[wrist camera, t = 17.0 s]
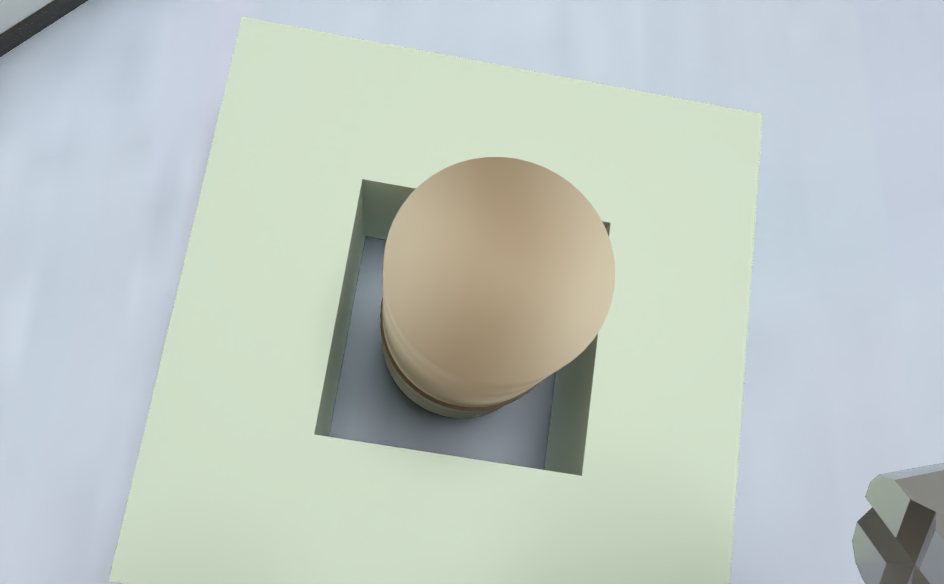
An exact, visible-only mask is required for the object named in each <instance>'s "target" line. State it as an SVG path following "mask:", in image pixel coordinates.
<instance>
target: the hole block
mask: <svg viewBox="0 0 944 584" xmlns="http://www.w3.org/2000/svg"><path fill="white" fill-rule="evenodd" d="M762 119H763V114H760V113H755V112H750V111H744V110H739V109H734V108H728V107H723V106H718V105H712V104H707V103H702V102H696V101H691V100H685V99H680V98H675V97H669V96H664V95H659V94H653V93H648V92H643V91H637V90H632V89H627V88H621V87H616V86H611V85H605V84H600V83H594V82H589V81H584V80H578V79H573V78H568V77H562V76H557V75H552V74H546V73H541V72H536V71H530V70H525V69H520V68H514V67H509V66H503V65H498V64H493V63H487V62H482V61H477V60H471V59H466V58H461V57H455V56H450V55H445V54H439V53H434V52H429V51H423V50H418V49H413V48H407V47H402V46H396V45H391V44H386V43H380V42H375V41H370V40H364V39H359V38H354V37H348V36H343V35H338V34H332V33H327V32H322V31H316V30H311V29H305V28H300V27H295V26H289V25H284V24H279V23H273V22H268V21H263V20H257V19H252V18H247V17H242V19H241V23H240V27H239V31H238V35H237V40H236V44H235V48H234V52H233V57H232V61H231V65H230V69H229V74H228V78H227V82H226V86H225V90H224V95H223V99H222V103H221V107H220V112H219V116H218V120H217V124H216V129H215V133H214V137H213V141H212V146H211V150H210V154H209V158H208V162H207V167H206V171H205V175H204V179H203V184H202V188H201V192H200V196H199V201H198V205H197V209H196V213H195V218H194V222H193V226H192V230H191V234H190V239H189V243H188V247H187V251H186V256H185V260H184V264H183V268H182V273H181V277H180V281H179V285H178V290H177V294H176V298H175V302H174V306H173V311H172V315H171V319H170V323H169V328H168V332H167V336H166V340H165V345H164V349H163V353H162V357H161V362H160V366H159V370H158V374H157V378H156V383H155V387H154V391H153V395H152V400H151V404H150V408H149V412H148V417H147V421H146V425H145V429H144V434H143V438H142V442H141V446H140V450H139V455H138V459H137V463H136V467H135V472H134V476H133V480H132V484H131V489H130V493H129V497H128V501H127V506H126V510H125V514H124V518H123V522H122V527H121V531H120V535H119V539H118V544H117V548H116V552H115V556H114V561H113V565H112V569H111V573H110V578H109V581H110V582H118V583H125V584H730V574H731V560H732V546H733V532H734V517H735V503H736V489H737V475H738V460H739V446H740V432H741V418H742V403H743V389H744V375H745V361H746V346H747V332H748V318H749V304H750V290H751V275H752V261H753V247H754V233H755V218H756V204H757V190H758V176H759V161H760V147H761V133H762ZM483 157H507V158H516V159H520V160H524V161H528V162H532V163H535V164H537V165H540V166H543V167H545V168H547V169H549V170H551V171H553V172H555V173H556V174H558V175H560V176H561V177H563V178H564V179H565V180H567V181H568V182H570V183H571V184H572V185H573V186H574V187H576V188H577V189H578V190H579V191H580V192H581V193H582V194H583V195H584V196H585V197H586V199H587V200H588V201H589V202H590V203H591V205H592V206H593V207H594V209H595V210H596V212H597V213H598V215H599V216H600V218H601V220H602V222H603V224H604V226H605V228H606V231H607V233H608V236H609V239H610V242H611V246H612V250H613V255H614V262H615V287H614V293H613V298H612V302H611V305H610V309H609V312H608V315H607V317H606V319H605V321H604V323H603V325H602V327H601V329H600V330H599V332H598V333H597V335H596V336H595V338H594V339H593V341H592V342H591V343H590V344H589V345H588V346H587V348H586V349H585V350H584V351H583V352H582V353H581V354H579V355H578V356H577V357H576V358H575V359H574V360H572V361H571V362H570V363H568V364H567V365H565V366H563V367H562V368H560V369H559V370H557V371H556V377H555V385H554V393H553V402H552V410H551V418H550V426H549V434H548V442H547V450H546V458H545V466H544V470H541V469H534V468H528V467H522V466H515V465H509V464H502V463H496V462H489V461H483V460H476V459H470V458H463V457H457V456H450V455H444V454H437V453H431V452H424V451H418V450H411V449H405V448H398V447H392V446H385V445H379V444H372V443H366V442H359V441H353V440H346V439H340V438H334V437H329V431H330V426H331V421H332V415H333V410H334V404H335V399H336V394H337V388H338V383H339V377H340V372H341V366H342V361H343V356H344V350H345V345H346V339H347V334H348V329H349V323H350V318H351V312H352V307H353V301H354V296H355V291H356V285H357V280H358V274H359V269H360V263H361V258H362V253H363V247H364V242H365V236H367V237H373V238H379V239H385V240H387V237H388V233H389V230H390V228H391V225H392V223H393V220H394V218H395V216H396V215H397V213H398V211H399V209H400V208H401V206H402V205H403V203H404V202H405V201H406V199H407V198H408V197H409V195H410V194H411V193H412V192H413V191H414V190H415V189H416V188H417V187H418V186H419V185H420V184H422V183H423V182H424V181H425V180H427V179H428V178H429V177H431V176H432V175H434V174H436V173H437V172H439V171H441V170H443V169H444V168H447V167H449V166H451V165H454V164H456V163H459V162H463V161H467V160H470V159H476V158H483Z"/></svg>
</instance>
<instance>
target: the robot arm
mask: <svg viewBox="0 0 944 584" xmlns="http://www.w3.org/2000/svg"><path fill="white" fill-rule="evenodd" d="M865 497H866V499H867V500H868V501H869V503H870V504H871V506H872V508H871V509H870V510H869V511H868V512H867V513H866V514H865V515H864V516H863V517H862V518H861V519H860V520H858V521H857V524H856V528H855V532H854V536H853V540H852V543H853V550H854V556H855V563H856V565H857V567H858V570H859V572H860V574H861V577H862V579H863V581H864V582H865V584H944V463H939V464H934V465H928V466H923V467H918V468H912V469H907V470H901V471H896V472H890V473H885V474H880V475H878V476H877V477H876V478H874V479H873V480H872V481H871V482H870V484H869V487H868V490H867V493H866V496H865Z"/></svg>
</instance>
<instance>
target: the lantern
mask: <svg viewBox="0 0 944 584" xmlns="http://www.w3.org/2000/svg"><path fill="white" fill-rule="evenodd" d="M86 1H88V0H0V57H1V56H3V55H4V54H6V53H7V52H9V51H10V50H12V49H13V48H15V47H16V46H18V45H20V44H21V43H23V42H24V41H26V40H27V39H29V38H30V37H32V36H33V35H35V34H37V33H38V32H40V31H41V30H43V29H44V28H46V27H47V26H49V25H50V24H52V23H54V22H55V21H57V20H58V19H60V18H61V17H63V16H64V15H66V14H67V13H69V12H71V11H72V10H74V9H75V8H77V7H78V6H80V5H81V4H83V3H85V2H86Z"/></svg>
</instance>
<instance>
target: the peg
mask: <svg viewBox="0 0 944 584" xmlns="http://www.w3.org/2000/svg"><path fill="white" fill-rule="evenodd" d="M614 287H615V262H614V255H613V250H612V246H611V242H610V239H609V236H608V233H607V231H606V228H605V226H604V224H603V222H602V220H601V218H600V216H599V215H598V213H597V212H596V210H595V209H594V207H593V206H592V205H591V203H590V202H589V201H588V200H587V199H586V197H585V196H584V195H583V194H582V193H581V192H580V191H579V190H578V189H577V188H576V187H574V186H573V185H572V184H571V183H570V182H568V181H567V180H565V179H564V178H563V177H561V176H560V175H558V174H556V173H555V172H553V171H551V170H549V169H547V168H545V167H543V166H540V165H537V164H535V163H532V162H528V161H524V160H520V159H516V158H507V157H483V158H476V159H470V160H467V161H463V162H459V163H456V164H454V165H451V166H449V167H447V168H444V169H443V170H441V171H439V172H437V173H436V174H434V175H432V176H431V177H429V178H428V179H427V180H425V181H424V182H423V183H422V184H420V185H419V186H418V187H417V188H416V189H415V190H414V191H413V192H412V193H411V194H410V195H409V197H408V198H407V199H406V201H405V202H404V203H403V205H402V206H401V208H400V209H399V211H398V213H397V215H396V216H395V218H394V220H393V223H392V225H391V228H390V230H389V233H388V237H387V241H386V245H385V252H384V261H383V298H382V303H381V313H380V319H381V333H382V347H383V353H384V358H385V361H386V365H387V367H388V370H389V372H390V374H391V376H392V378H393V379H394V381H395V383H396V384H397V386H398V387H399V388H400V389H401V390H402V392H403V393H404V394H405V395H406V396H407V397H409V398H410V399H411V400H412V401H413V402H415V403H416V404H418V405H419V406H420V407H422V408H424V409H426V410H428V411H430V412H433V413H436V414H438V415H442V416H447V417H454V418H471V417H477V416H481V415H485V414H488V413H491V412H493V411H495V410H497V409H499V408H501V407H502V406H504V405H506V404H508V403H511V402H513V401H515V400H517V399H518V398H520V397H522V396H523V395H525V394H526V393H528V392H529V391H530V390H532V389H533V388H534V387H535V386H536V385H537V384H539V382H541V381H542V380H544V379H545V378H547V377H548V376H550V375H551V374H553V373H554V372H556V371H557V370H559V369H560V368H562V367H563V366H565V365H567V364H568V363H570V362H571V361H572V360H574V359H575V358H576V357H577V356H578V355H579V354H581V353H582V352H583V351H584V350H585V349H586V348H587V346H588V345H589V344H590V343H591V342H592V341H593V339H594V338H595V336H596V335H597V333H598V332H599V330H600V329H601V327H602V325H603V323H604V321H605V319H606V317H607V315H608V312H609V309H610V305H611V302H612V298H613V293H614Z"/></svg>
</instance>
